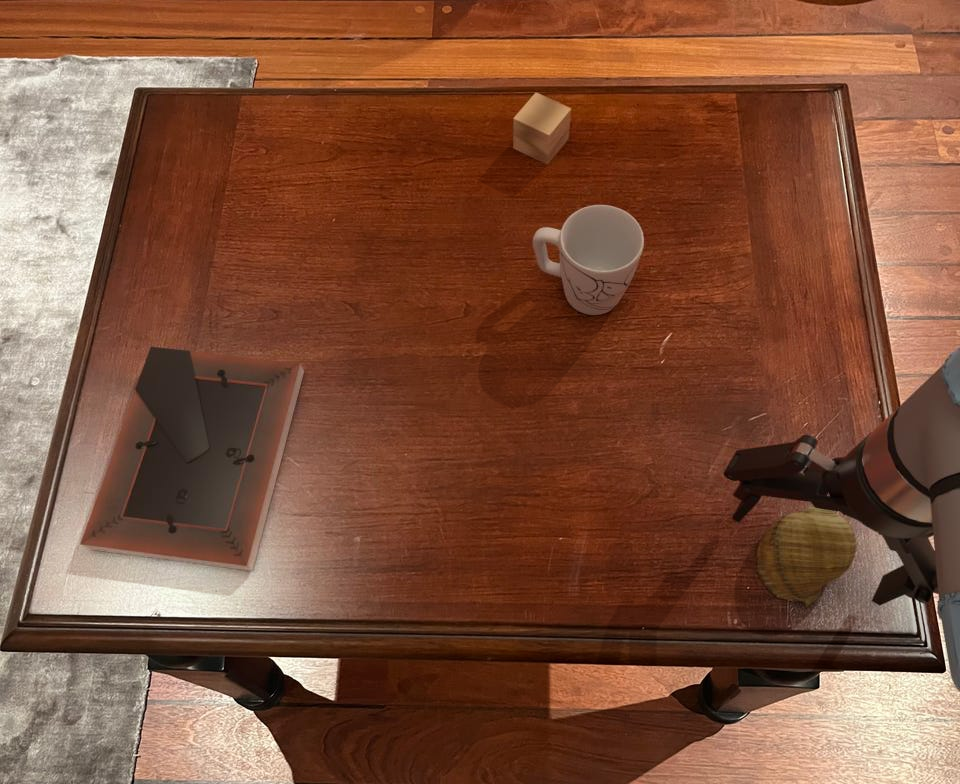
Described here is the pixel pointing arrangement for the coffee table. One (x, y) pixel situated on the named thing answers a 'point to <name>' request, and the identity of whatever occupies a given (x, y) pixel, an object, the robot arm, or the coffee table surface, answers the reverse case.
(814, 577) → the seashell
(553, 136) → the maple block
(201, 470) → the picture frame
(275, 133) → the coffee table surface
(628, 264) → the mug
